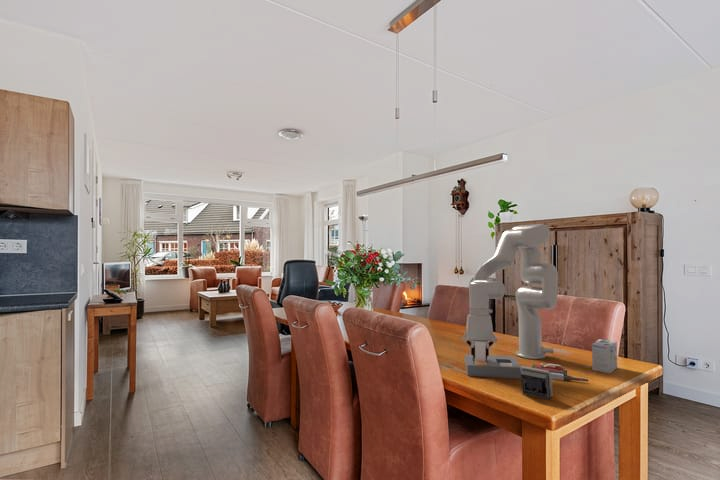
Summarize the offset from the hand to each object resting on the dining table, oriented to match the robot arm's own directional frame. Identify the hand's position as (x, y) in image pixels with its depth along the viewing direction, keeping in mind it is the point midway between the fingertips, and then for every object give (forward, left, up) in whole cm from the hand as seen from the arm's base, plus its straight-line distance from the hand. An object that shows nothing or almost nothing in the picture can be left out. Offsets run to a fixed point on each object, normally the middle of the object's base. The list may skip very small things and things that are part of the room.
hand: (479, 356), depth 153 cm
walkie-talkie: (-28, +3, -6) cm, 29 cm away
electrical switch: (-16, +25, -5) cm, 30 cm away
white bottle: (0, 0, -3) cm, 3 cm away
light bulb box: (-50, -11, -5) cm, 51 cm away
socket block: (-5, 0, -5) cm, 7 cm away
